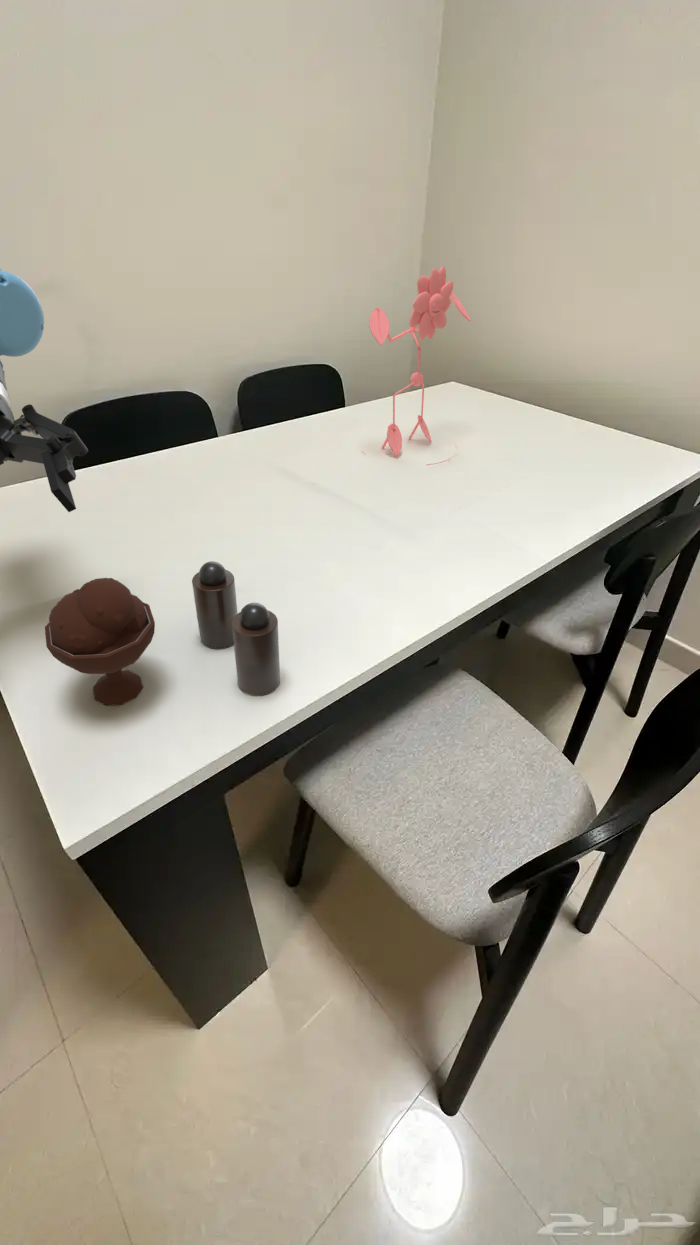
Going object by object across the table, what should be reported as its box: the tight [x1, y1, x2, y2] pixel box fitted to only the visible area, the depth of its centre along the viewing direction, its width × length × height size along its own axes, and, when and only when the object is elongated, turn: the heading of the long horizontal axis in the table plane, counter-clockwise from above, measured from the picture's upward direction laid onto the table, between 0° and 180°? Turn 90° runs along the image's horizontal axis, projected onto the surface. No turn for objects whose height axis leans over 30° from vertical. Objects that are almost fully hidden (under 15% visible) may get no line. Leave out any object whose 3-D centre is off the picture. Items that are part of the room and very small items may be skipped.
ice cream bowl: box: [44, 577, 156, 707], centre depth 62 cm, size 11×11×15 cm
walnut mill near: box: [232, 602, 281, 697], centre depth 66 cm, size 5×5×11 cm
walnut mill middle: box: [191, 560, 239, 650], centre depth 72 cm, size 5×5×11 cm
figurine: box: [360, 266, 472, 466], centre depth 117 cm, size 15×26×35 cm, turn 134°
